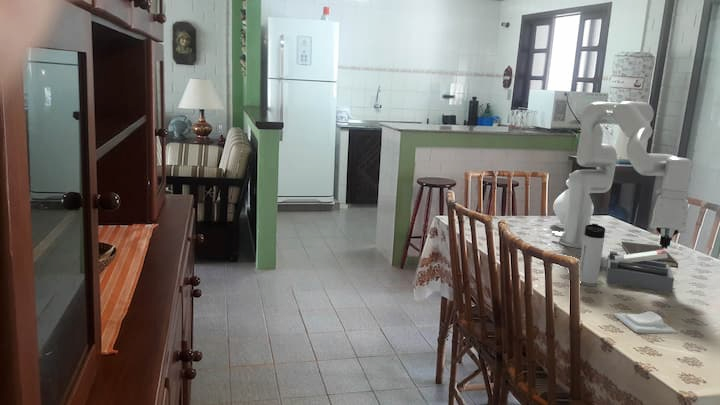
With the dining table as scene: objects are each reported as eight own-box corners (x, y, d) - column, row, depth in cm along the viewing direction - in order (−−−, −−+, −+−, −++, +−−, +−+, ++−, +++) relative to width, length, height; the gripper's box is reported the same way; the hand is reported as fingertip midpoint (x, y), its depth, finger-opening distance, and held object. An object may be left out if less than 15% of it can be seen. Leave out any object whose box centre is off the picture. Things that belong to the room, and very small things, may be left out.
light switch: (681, 323, 157) (638, 320, 155) (677, 337, 158) (635, 334, 156) (656, 307, 168) (616, 305, 166) (653, 320, 169) (613, 318, 167)
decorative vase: (547, 220, 279) (554, 170, 274) (585, 224, 277) (593, 173, 271) (554, 230, 262) (561, 176, 256) (595, 233, 260) (603, 179, 254)
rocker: (616, 264, 199) (615, 259, 199) (616, 260, 203) (615, 255, 203) (667, 257, 192) (666, 252, 192) (666, 253, 197) (665, 248, 197)
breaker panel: (606, 281, 196) (609, 262, 195) (605, 268, 211) (608, 250, 209) (671, 292, 189) (675, 272, 187) (666, 278, 203) (669, 259, 202)
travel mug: (596, 281, 196) (605, 224, 191) (597, 287, 190) (606, 229, 185) (577, 278, 198) (585, 222, 193) (577, 284, 192) (586, 226, 187)
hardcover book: (632, 262, 221) (633, 257, 221) (620, 246, 243) (621, 241, 242) (677, 268, 218) (678, 262, 217) (661, 251, 239) (662, 246, 239)
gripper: (649, 193, 190) (640, 246, 194) (700, 199, 184) (690, 253, 188) (647, 190, 197) (639, 241, 201) (697, 195, 191) (687, 248, 195)
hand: (664, 247), depth 194 cm, fingers closed
